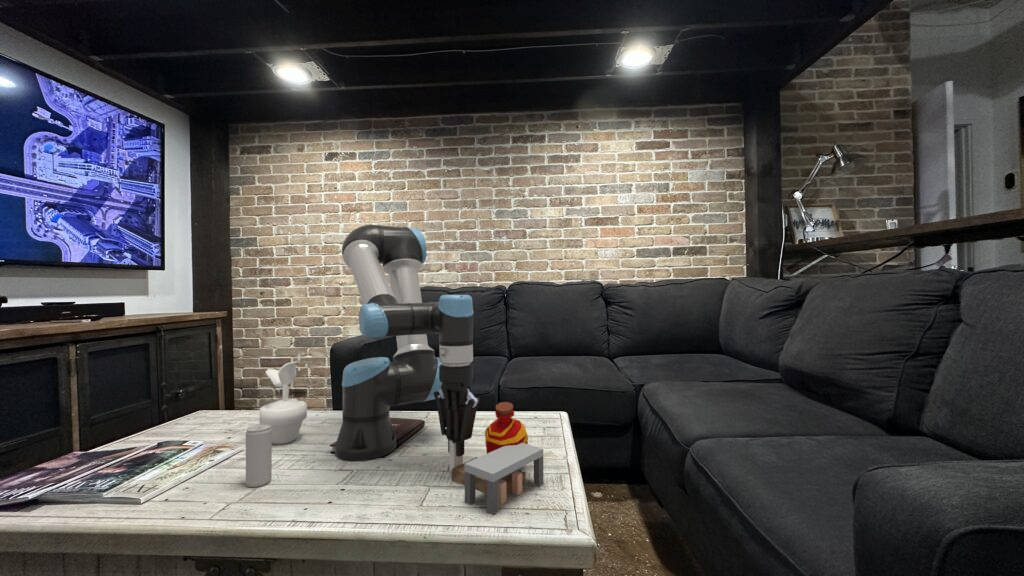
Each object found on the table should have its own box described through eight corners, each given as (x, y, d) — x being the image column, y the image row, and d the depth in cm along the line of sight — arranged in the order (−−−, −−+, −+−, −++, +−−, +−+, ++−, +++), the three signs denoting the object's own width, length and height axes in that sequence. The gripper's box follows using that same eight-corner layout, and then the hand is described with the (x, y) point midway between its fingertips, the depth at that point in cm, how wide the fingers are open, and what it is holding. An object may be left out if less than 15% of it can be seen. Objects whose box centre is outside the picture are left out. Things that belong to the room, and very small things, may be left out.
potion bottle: (525, 482, 91) (521, 421, 87) (480, 476, 93) (475, 416, 90) (534, 452, 101) (531, 396, 97) (493, 447, 103) (489, 393, 100)
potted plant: (315, 438, 118) (315, 349, 118) (273, 451, 108) (273, 355, 108) (290, 430, 124) (290, 347, 125) (249, 442, 115) (249, 351, 115)
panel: (451, 482, 91) (451, 468, 91) (476, 469, 97) (476, 457, 97) (501, 501, 82) (501, 486, 82) (525, 486, 88) (525, 472, 89)
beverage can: (244, 490, 87) (244, 432, 87) (246, 481, 91) (246, 426, 91) (271, 485, 89) (271, 428, 89) (272, 476, 93) (272, 422, 93)
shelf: (464, 502, 81) (464, 463, 81) (516, 474, 93) (516, 440, 94) (493, 515, 76) (492, 474, 76) (543, 484, 89) (543, 448, 89)
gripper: (424, 362, 94) (424, 466, 94) (464, 369, 86) (464, 483, 86) (449, 358, 100) (449, 456, 100) (488, 364, 92) (489, 471, 92)
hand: (456, 469), depth 93 cm, fingers closed
